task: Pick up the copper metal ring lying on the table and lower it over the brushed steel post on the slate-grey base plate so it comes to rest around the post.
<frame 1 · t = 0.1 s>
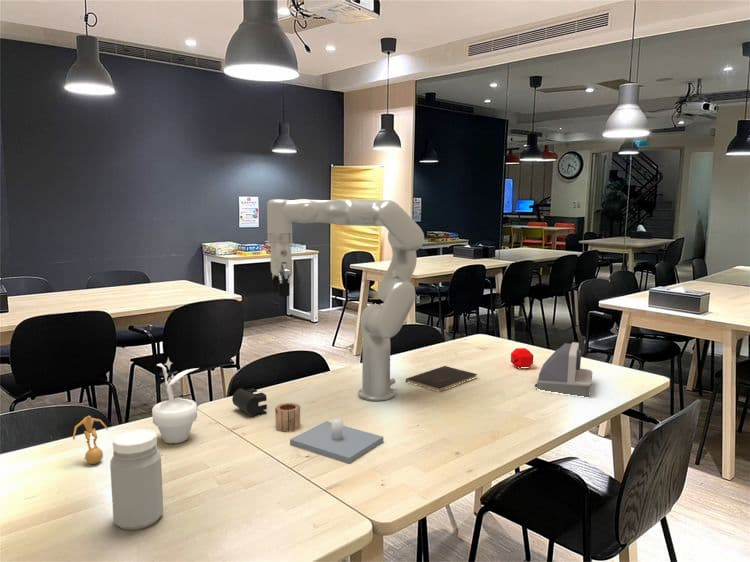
hand: (280, 293, 176), 37 cm above the table, tool pointing down, fingers open, 9 cm apart
potted plant: (178, 440, 156), on the table
jar: (139, 519, 116), on the table
end cap: (249, 413, 177), on the table
post stand: (337, 443, 154), on the table
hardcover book: (441, 382, 210), on the table
grey angular piece: (563, 387, 204), on the table
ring: (287, 426, 165), on the table
figurine: (93, 462, 142), on the table
ball: (521, 368, 228), on the table
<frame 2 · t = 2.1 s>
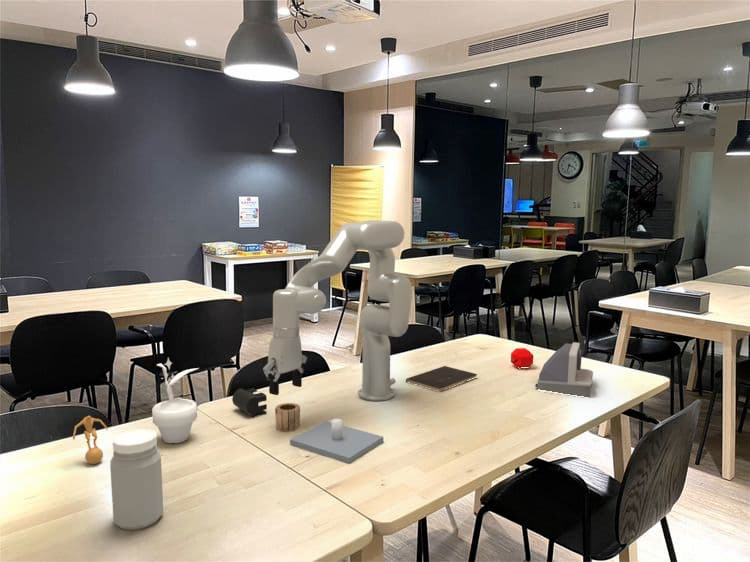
hand: (285, 390, 163), 11 cm above the table, tool pointing down, fingers open, 9 cm apart
nothing on the table moved.
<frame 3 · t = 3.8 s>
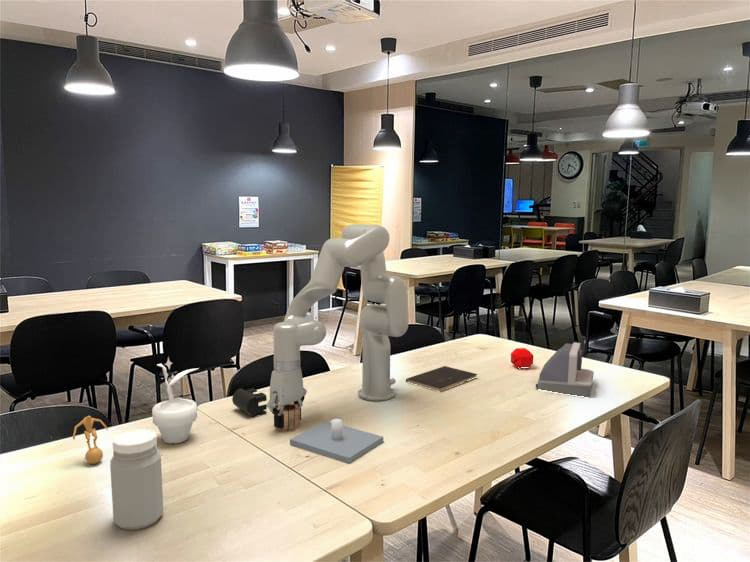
hand: (287, 422, 165), 1 cm above the table, tool pointing down, fingers closed on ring, 7 cm apart
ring: (287, 426, 165), on the table, touching gripper
everything else where it was.
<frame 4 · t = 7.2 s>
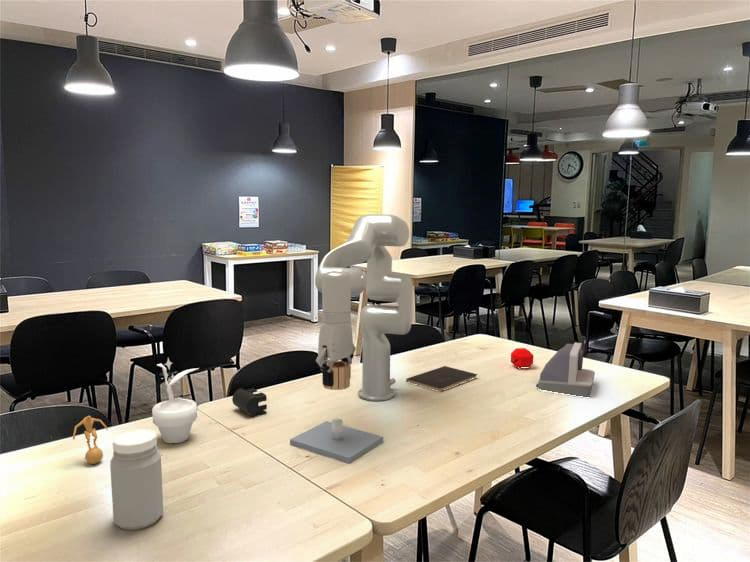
hand: (336, 381, 151), 18 cm above the table, tool pointing down, fingers closed on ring, 7 cm apart
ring: (336, 385, 152), point 16 cm above the table, touching gripper
everything else where it was.
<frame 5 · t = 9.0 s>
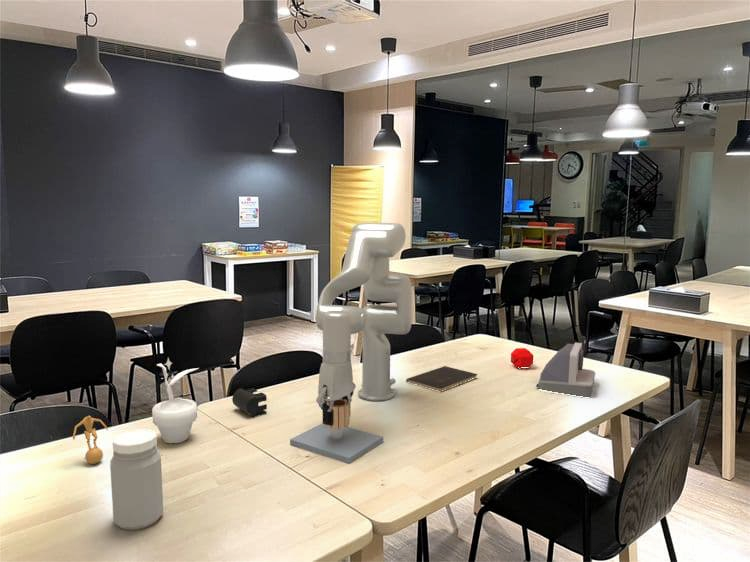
hand: (336, 419, 153), 7 cm above the table, tool pointing down, fingers closed on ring, 7 cm apart
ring: (336, 423, 153), point 6 cm above the table, touching gripper
everything else where it was.
when the fingers open (4 cm above the table, at t = 10.5 s): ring drops 2 cm, resting on post stand.
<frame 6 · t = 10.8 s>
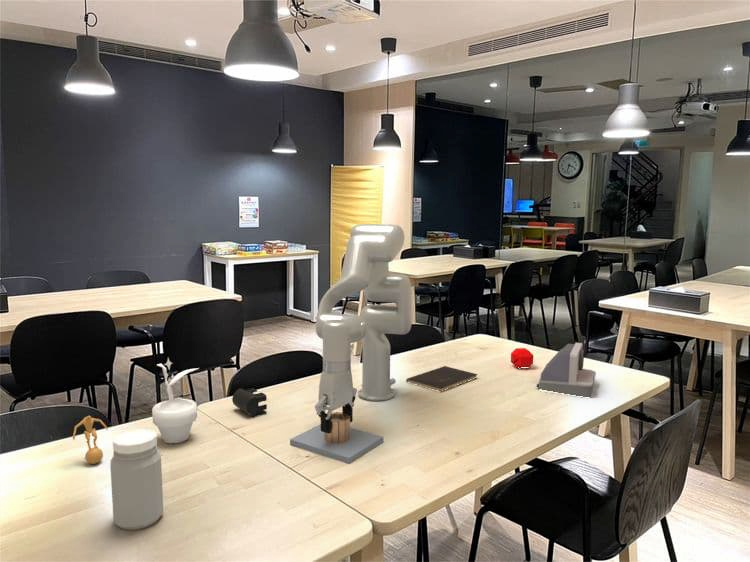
hand: (336, 426, 153), 5 cm above the table, tool pointing down, fingers open, 9 cm apart
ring: (337, 437, 154), point 1 cm above the table, touching post stand
everything else where it was.
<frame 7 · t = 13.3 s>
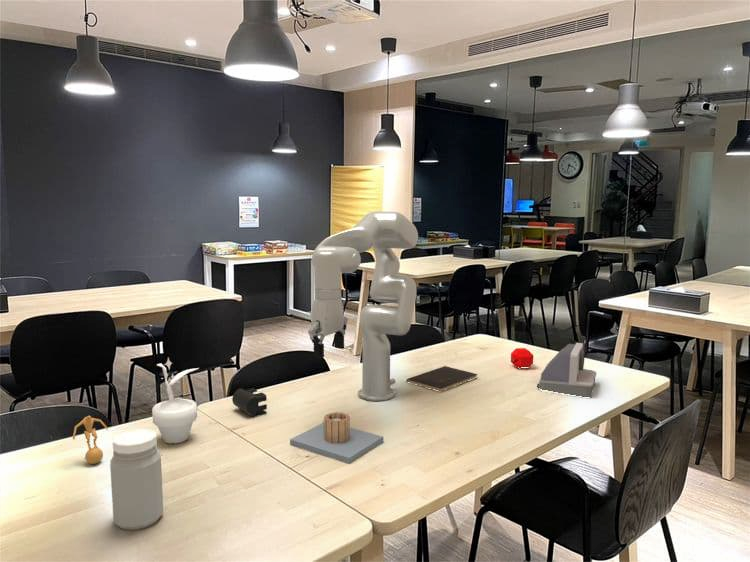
hand: (329, 352, 160), 23 cm above the table, tool pointing down, fingers open, 9 cm apart
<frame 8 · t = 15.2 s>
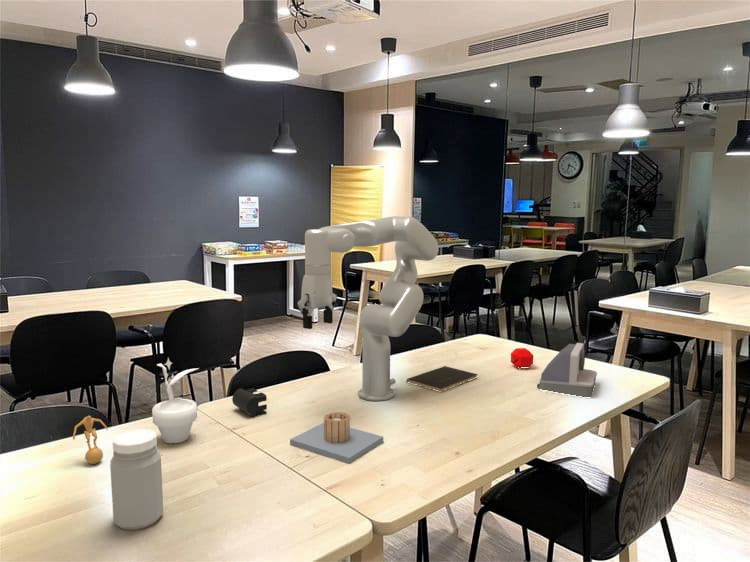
hand: (318, 325, 171), 28 cm above the table, tool pointing down, fingers open, 9 cm apart
at the end: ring 0.1 cm from the post stand (horizontally); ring point 1.5 cm above the table; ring tilted 0° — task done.
